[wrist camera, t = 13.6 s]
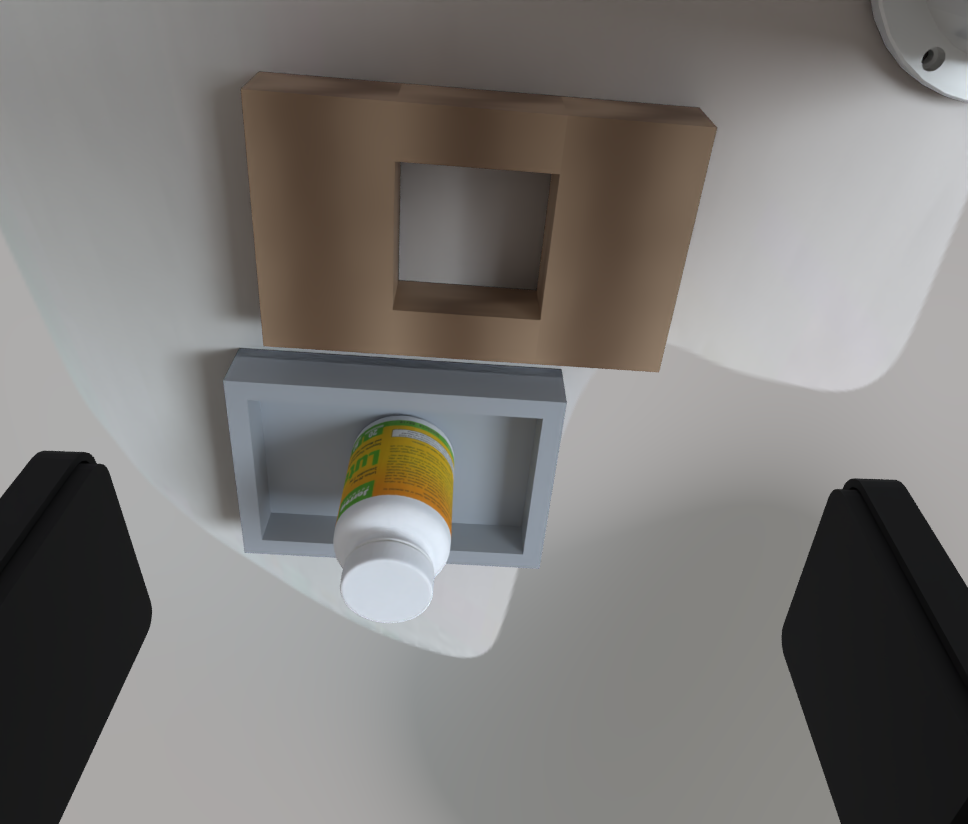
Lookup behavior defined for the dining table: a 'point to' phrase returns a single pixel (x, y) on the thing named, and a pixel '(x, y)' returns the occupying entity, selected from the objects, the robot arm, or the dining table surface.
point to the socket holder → (478, 144)
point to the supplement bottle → (395, 518)
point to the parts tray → (378, 394)
